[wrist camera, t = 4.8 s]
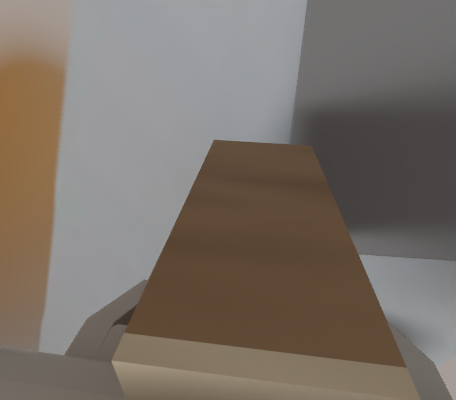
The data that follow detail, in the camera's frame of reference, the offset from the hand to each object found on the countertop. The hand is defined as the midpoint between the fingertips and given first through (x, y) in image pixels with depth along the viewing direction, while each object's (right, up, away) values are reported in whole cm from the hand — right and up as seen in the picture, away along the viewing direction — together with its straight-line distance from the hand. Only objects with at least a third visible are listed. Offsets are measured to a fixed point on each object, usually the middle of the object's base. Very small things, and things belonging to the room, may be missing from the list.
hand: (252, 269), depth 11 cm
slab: (0, +2, +3) cm, 3 cm away
